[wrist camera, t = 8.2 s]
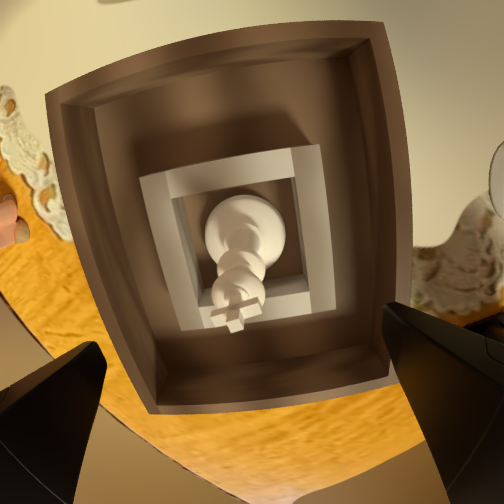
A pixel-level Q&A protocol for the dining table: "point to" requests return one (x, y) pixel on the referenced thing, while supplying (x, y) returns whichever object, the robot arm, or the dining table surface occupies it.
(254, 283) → the chess piece
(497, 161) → the wineglass
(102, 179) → the walnut box
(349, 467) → the dining table surface
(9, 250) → the dining table surface
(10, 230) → the grandmother figurine
